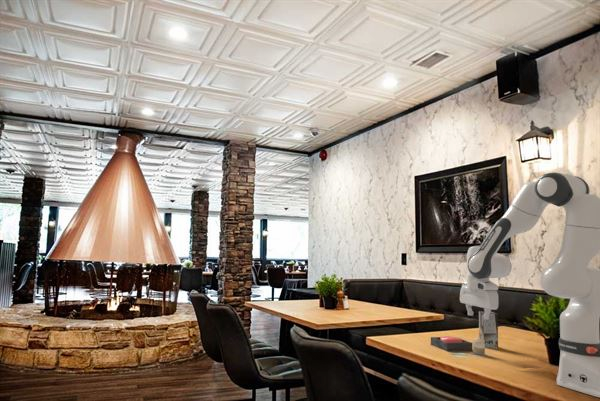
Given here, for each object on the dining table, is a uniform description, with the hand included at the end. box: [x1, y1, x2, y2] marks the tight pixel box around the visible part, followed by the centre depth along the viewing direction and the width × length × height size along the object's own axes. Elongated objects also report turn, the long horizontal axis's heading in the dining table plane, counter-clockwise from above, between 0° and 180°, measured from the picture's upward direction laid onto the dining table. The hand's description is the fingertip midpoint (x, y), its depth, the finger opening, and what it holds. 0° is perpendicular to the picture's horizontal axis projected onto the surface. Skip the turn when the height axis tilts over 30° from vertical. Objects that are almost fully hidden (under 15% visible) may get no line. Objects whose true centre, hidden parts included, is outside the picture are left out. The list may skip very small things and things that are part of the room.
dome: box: [439, 335, 463, 343], centre depth 183 cm, size 9×9×4 cm
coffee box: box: [478, 310, 499, 350], centre depth 191 cm, size 9×6×16 cm
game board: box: [430, 336, 490, 358], centre depth 177 cm, size 24×16×4 cm, turn 15°
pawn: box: [472, 338, 486, 357], centre depth 172 cm, size 4×4×6 cm
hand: (477, 317), depth 174 cm, fingers open, 8 cm apart
